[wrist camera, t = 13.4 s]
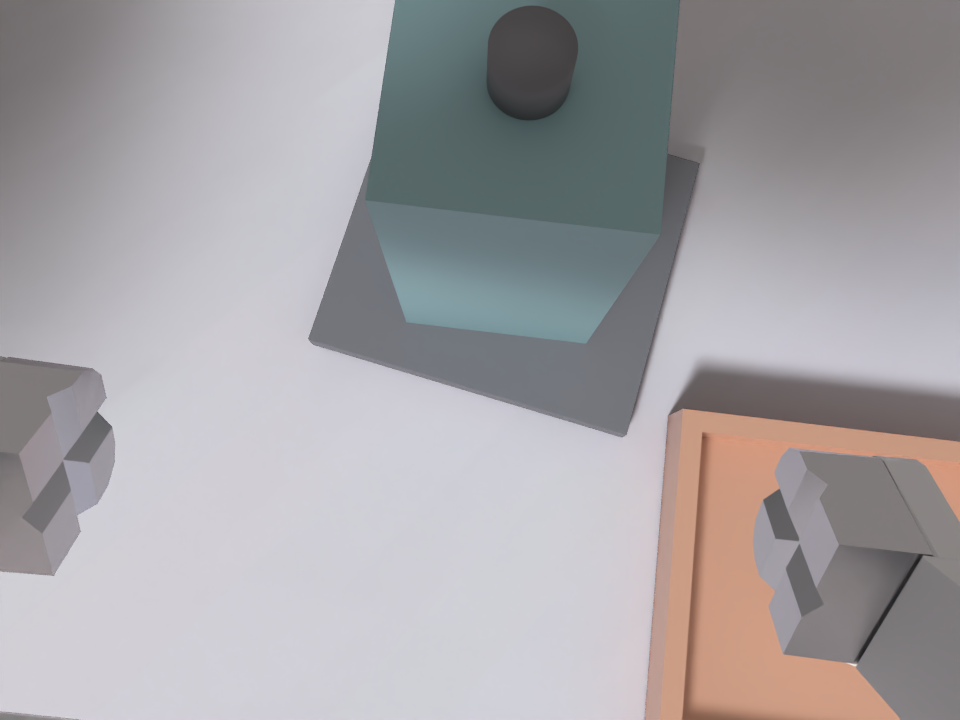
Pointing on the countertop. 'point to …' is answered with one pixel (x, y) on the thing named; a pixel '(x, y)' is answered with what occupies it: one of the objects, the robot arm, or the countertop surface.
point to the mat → (502, 357)
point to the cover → (521, 158)
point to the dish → (748, 573)
